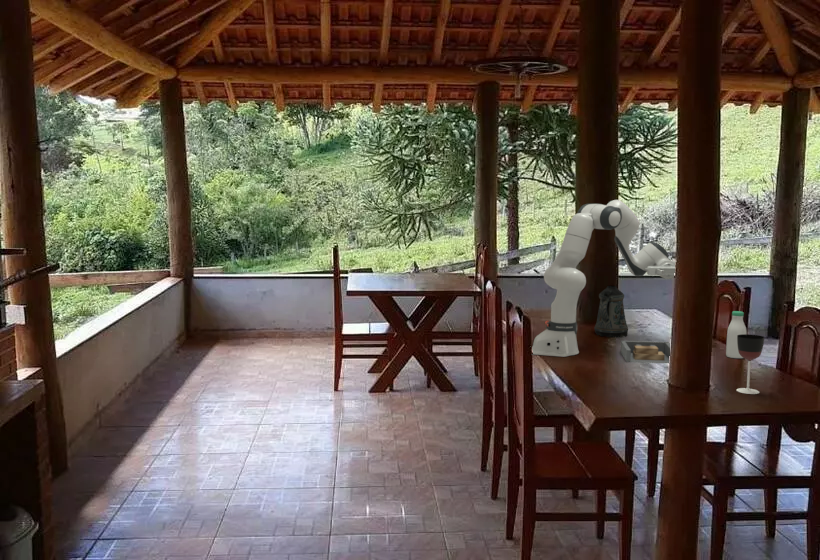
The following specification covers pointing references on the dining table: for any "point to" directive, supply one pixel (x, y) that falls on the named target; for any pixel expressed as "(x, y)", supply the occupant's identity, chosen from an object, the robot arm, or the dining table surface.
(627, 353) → the grey open tray
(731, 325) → the milk bottle
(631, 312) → the dining table surface
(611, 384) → the dining table surface
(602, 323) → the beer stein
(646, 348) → the upper offcut
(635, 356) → the lower offcut
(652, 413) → the dining table surface
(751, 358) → the wineglass
